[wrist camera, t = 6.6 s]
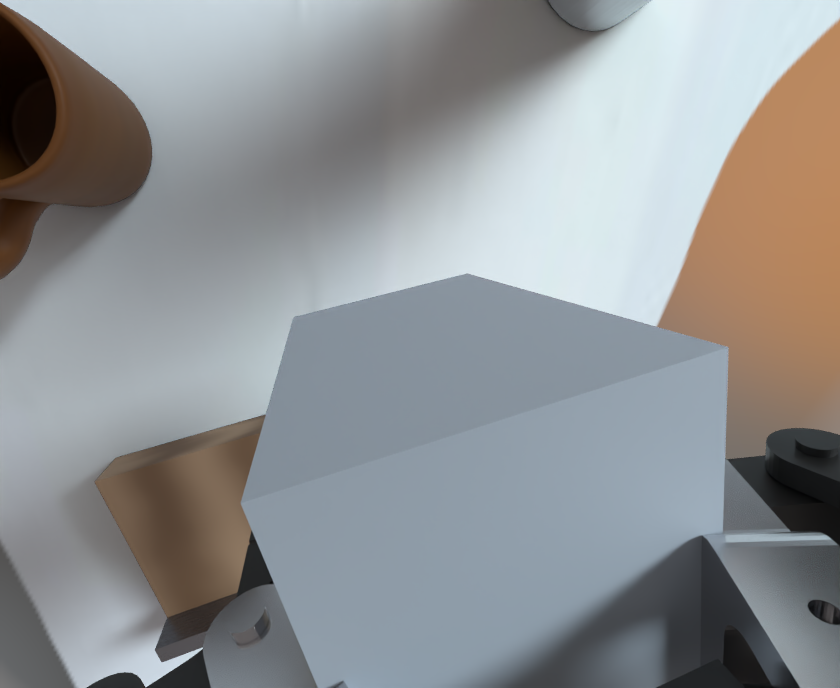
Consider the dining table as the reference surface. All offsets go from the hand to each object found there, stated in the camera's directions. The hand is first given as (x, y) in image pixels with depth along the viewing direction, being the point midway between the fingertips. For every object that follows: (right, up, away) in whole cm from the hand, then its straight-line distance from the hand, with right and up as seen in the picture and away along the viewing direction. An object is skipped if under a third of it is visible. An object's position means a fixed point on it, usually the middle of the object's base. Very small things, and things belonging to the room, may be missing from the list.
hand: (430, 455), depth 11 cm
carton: (-1, +1, +2) cm, 2 cm away
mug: (-21, +13, +14) cm, 28 cm away
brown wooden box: (-11, -8, +22) cm, 26 cm away
